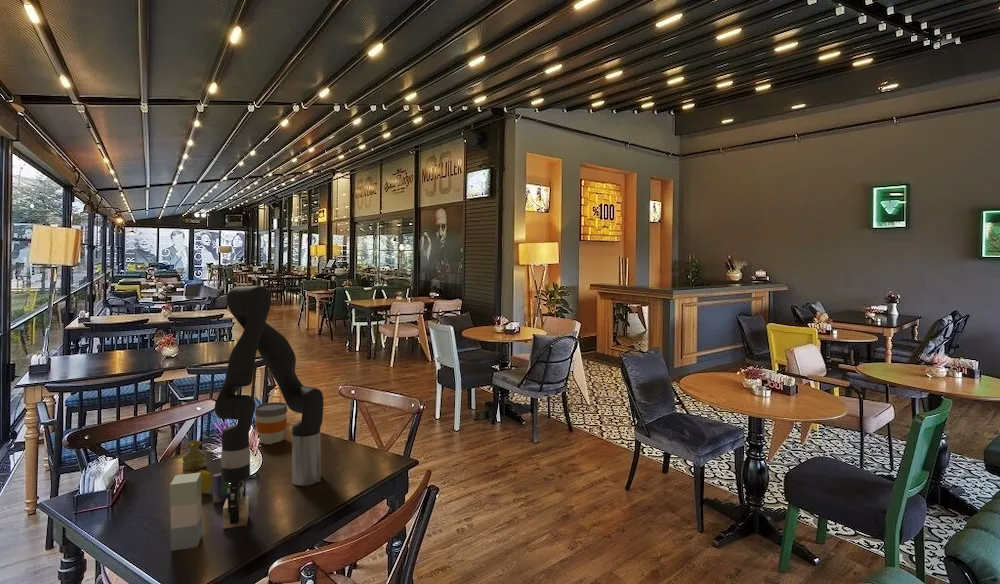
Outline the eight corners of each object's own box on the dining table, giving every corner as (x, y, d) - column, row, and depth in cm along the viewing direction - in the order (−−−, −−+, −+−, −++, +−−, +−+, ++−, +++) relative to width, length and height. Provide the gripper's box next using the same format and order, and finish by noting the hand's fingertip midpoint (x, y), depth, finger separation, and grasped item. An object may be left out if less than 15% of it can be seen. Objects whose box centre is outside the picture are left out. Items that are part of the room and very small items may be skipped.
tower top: (201, 493, 138) (200, 472, 138) (196, 503, 133) (196, 481, 132) (176, 496, 136) (175, 475, 136) (170, 506, 131) (170, 484, 130)
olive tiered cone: (209, 466, 185) (209, 439, 185) (188, 472, 179) (188, 445, 179) (199, 461, 189) (199, 435, 189) (178, 468, 183) (178, 441, 182)
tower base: (201, 535, 139) (201, 514, 139) (197, 546, 133) (197, 525, 133) (176, 539, 137) (176, 517, 137) (171, 551, 131) (170, 528, 131)
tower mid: (201, 514, 139) (201, 493, 138) (197, 525, 133) (196, 503, 133) (176, 517, 136) (176, 496, 136) (170, 528, 131) (170, 506, 131)
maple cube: (248, 515, 150) (248, 496, 150) (246, 525, 145) (246, 505, 144) (226, 518, 148) (226, 498, 148) (223, 528, 143) (222, 508, 142)
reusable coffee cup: (289, 443, 210) (289, 408, 209) (256, 448, 204) (256, 412, 203) (285, 434, 221) (285, 400, 220) (254, 438, 215) (254, 404, 214)
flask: (213, 504, 156) (212, 471, 156) (213, 500, 159) (212, 467, 158) (246, 498, 161) (245, 465, 161) (245, 494, 164) (245, 462, 163)
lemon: (202, 498, 160) (202, 474, 160) (188, 496, 161) (187, 472, 161) (215, 491, 165) (215, 467, 165) (201, 489, 167) (201, 465, 166)
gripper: (247, 470, 140) (247, 528, 141) (252, 451, 153) (252, 504, 154) (216, 473, 137) (217, 532, 138) (225, 454, 151) (225, 508, 152)
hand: (236, 517), depth 146 cm, fingers closed on maple cube, 6 cm apart
